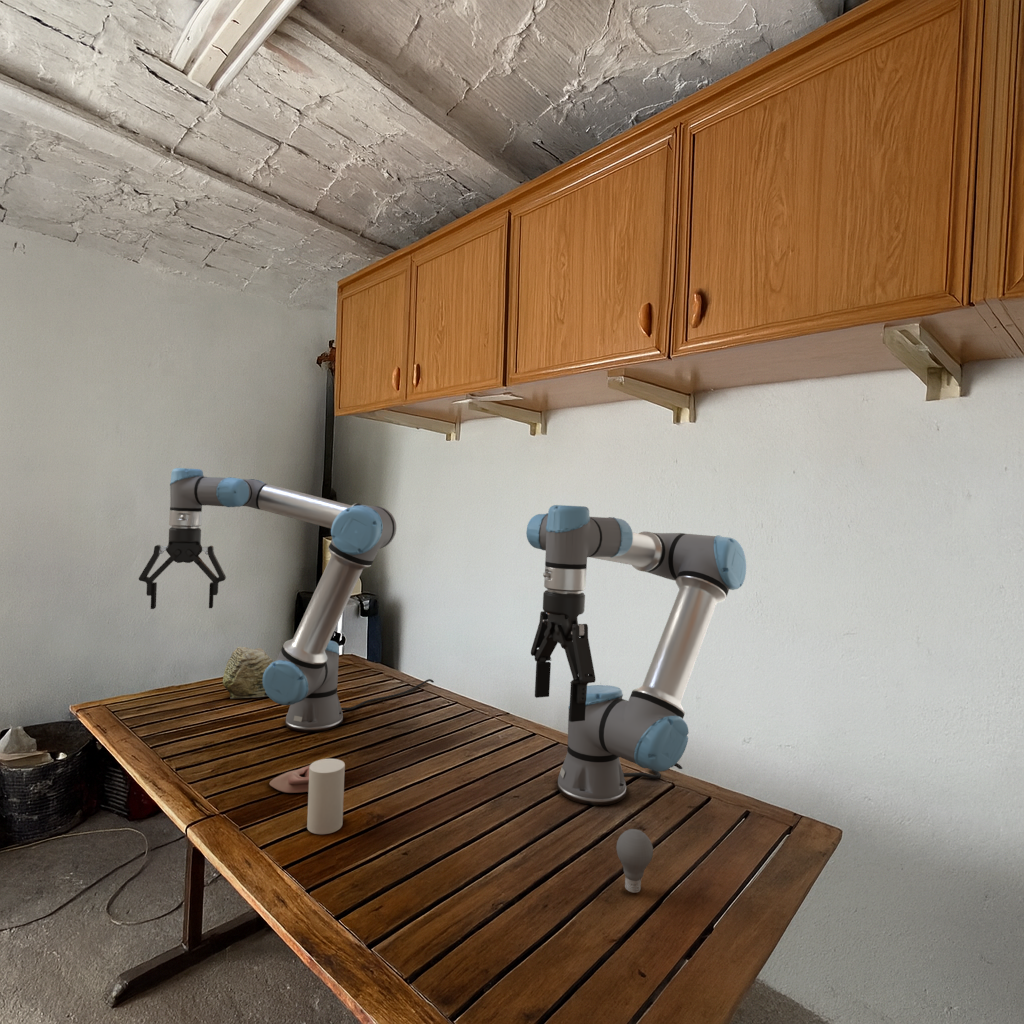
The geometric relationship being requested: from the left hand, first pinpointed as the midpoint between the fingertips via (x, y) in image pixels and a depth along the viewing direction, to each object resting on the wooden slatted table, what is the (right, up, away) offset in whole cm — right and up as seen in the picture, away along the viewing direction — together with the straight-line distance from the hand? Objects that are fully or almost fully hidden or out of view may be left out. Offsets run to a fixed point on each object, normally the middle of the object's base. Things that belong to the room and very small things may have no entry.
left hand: (182, 607), depth 166 cm
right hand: (+95, -10, -52) cm, 109 cm away
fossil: (+6, -32, +32) cm, 45 cm away
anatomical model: (+41, -35, -27) cm, 60 cm away
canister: (+51, -35, -44) cm, 76 cm away
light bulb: (+107, -38, -61) cm, 129 cm away
